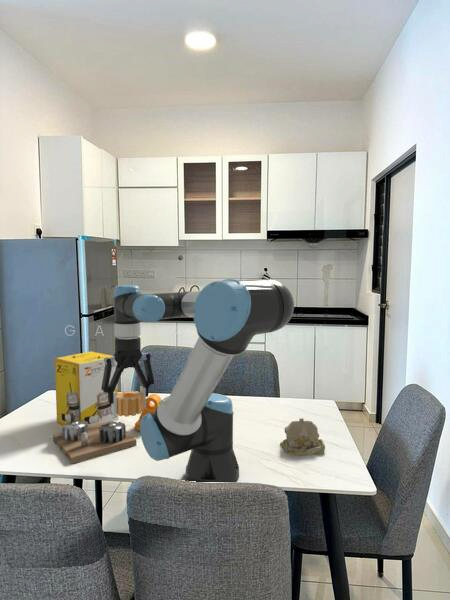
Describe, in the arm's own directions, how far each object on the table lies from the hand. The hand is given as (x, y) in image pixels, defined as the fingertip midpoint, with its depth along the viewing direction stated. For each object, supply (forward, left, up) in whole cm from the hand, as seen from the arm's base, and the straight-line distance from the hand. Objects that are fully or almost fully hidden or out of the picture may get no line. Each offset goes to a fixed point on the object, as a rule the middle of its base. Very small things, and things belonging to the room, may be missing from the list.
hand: (128, 410), depth 122 cm
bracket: (+18, -17, -16) cm, 29 cm away
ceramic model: (-27, -48, -16) cm, 57 cm away
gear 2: (+14, 0, -14) cm, 20 cm away
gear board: (+19, +4, -16) cm, 25 cm away
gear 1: (+24, +9, -14) cm, 29 cm away
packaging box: (+40, -1, -16) cm, 43 cm away
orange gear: (0, 0, 0) cm, 0 cm away
